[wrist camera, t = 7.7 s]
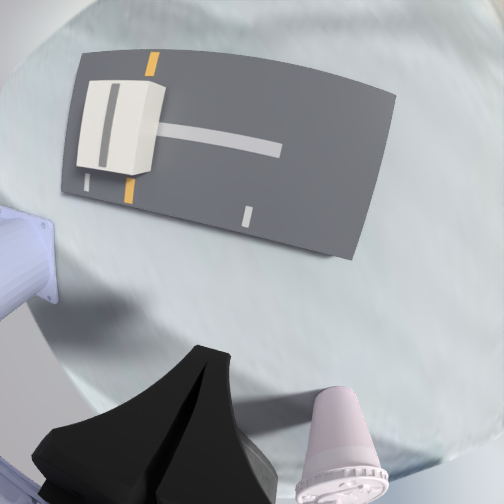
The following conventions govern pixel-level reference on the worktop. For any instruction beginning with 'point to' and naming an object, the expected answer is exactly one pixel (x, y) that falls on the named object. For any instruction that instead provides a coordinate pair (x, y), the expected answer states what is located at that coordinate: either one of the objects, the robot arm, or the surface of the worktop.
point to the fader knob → (120, 125)
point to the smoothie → (340, 454)
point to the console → (245, 146)
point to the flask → (261, 467)
